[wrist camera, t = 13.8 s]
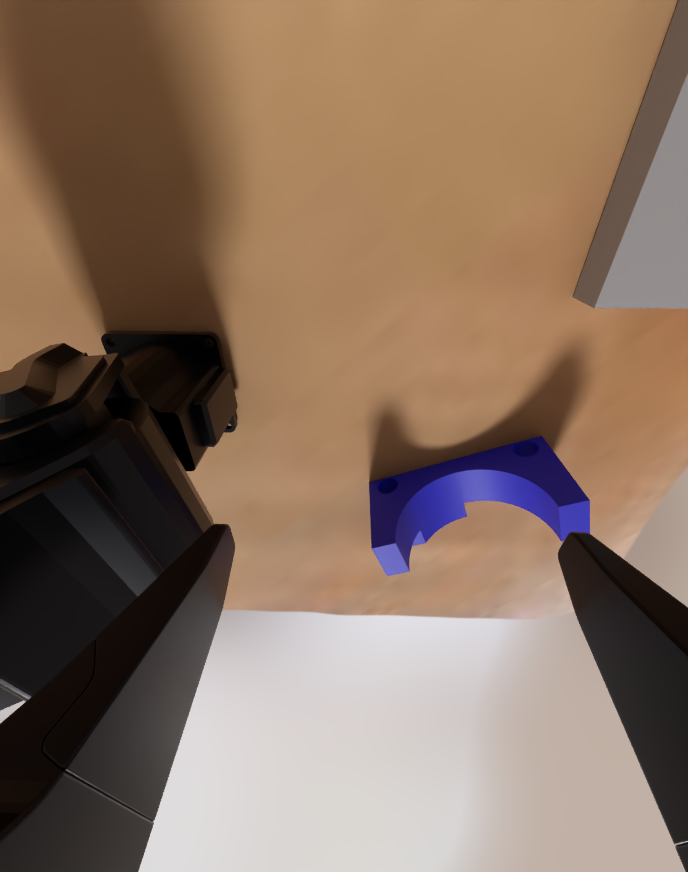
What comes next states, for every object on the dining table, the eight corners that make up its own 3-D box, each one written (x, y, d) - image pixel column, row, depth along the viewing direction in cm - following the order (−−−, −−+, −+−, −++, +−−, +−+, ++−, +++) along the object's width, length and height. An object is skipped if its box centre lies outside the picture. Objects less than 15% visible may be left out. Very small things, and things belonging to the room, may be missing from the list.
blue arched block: (387, 519, 28) (393, 588, 23) (369, 480, 26) (371, 548, 21) (545, 481, 26) (589, 551, 21) (540, 434, 23) (589, 500, 18)
